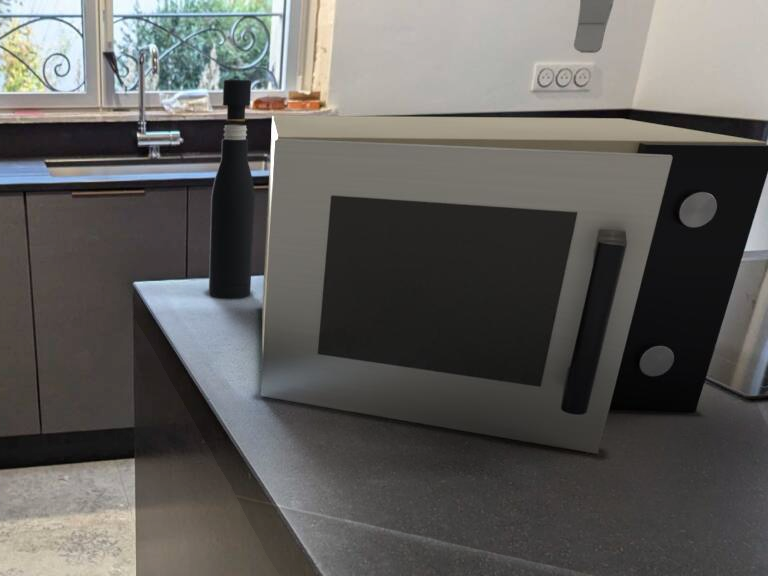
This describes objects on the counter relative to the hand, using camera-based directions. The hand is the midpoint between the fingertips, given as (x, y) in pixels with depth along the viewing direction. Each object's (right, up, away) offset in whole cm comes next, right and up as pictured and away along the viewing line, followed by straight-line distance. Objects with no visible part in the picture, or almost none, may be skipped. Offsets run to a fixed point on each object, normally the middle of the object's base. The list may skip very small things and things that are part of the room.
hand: (587, 52), depth 65 cm
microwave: (+1, -19, +37) cm, 41 cm away
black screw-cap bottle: (-23, -7, +63) cm, 67 cm away
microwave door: (-10, -30, +15) cm, 34 cm away
